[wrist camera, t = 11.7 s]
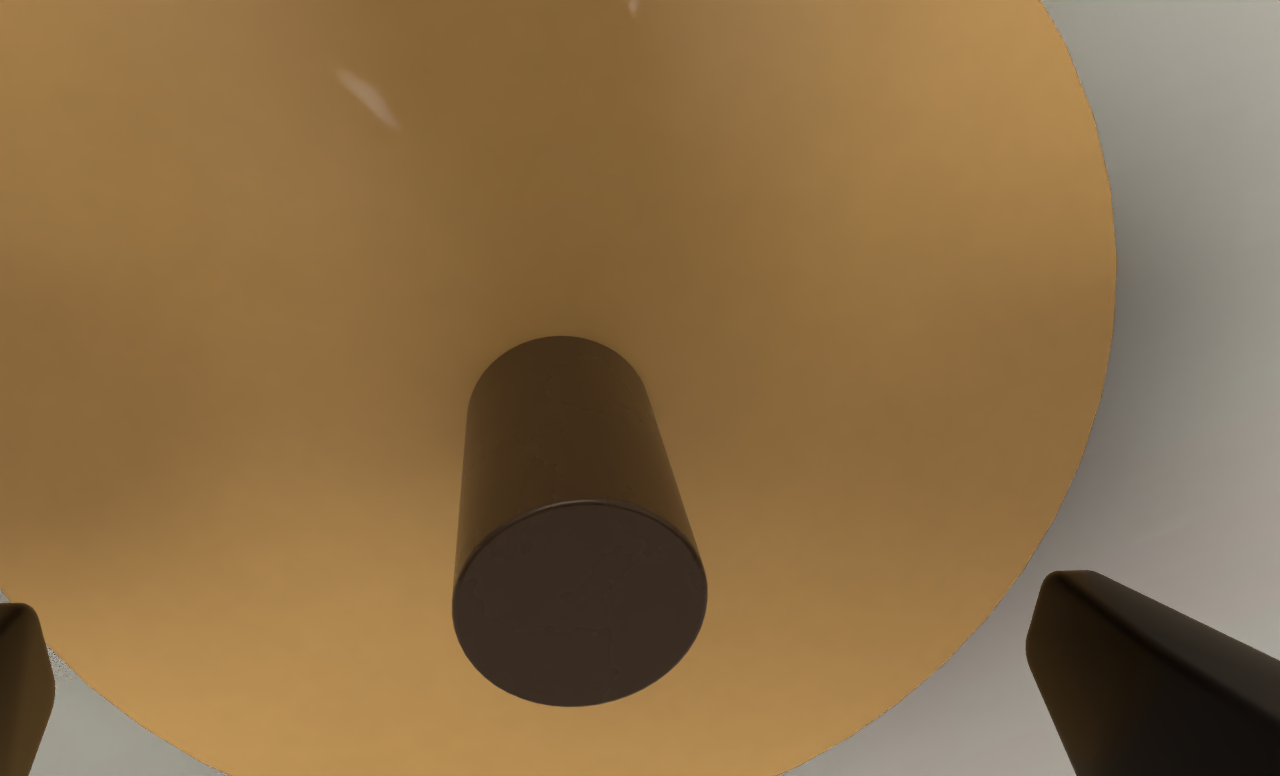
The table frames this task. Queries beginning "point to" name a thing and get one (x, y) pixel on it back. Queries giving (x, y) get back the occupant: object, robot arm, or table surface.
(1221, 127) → the table surface
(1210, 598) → the table surface
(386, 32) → the lid
